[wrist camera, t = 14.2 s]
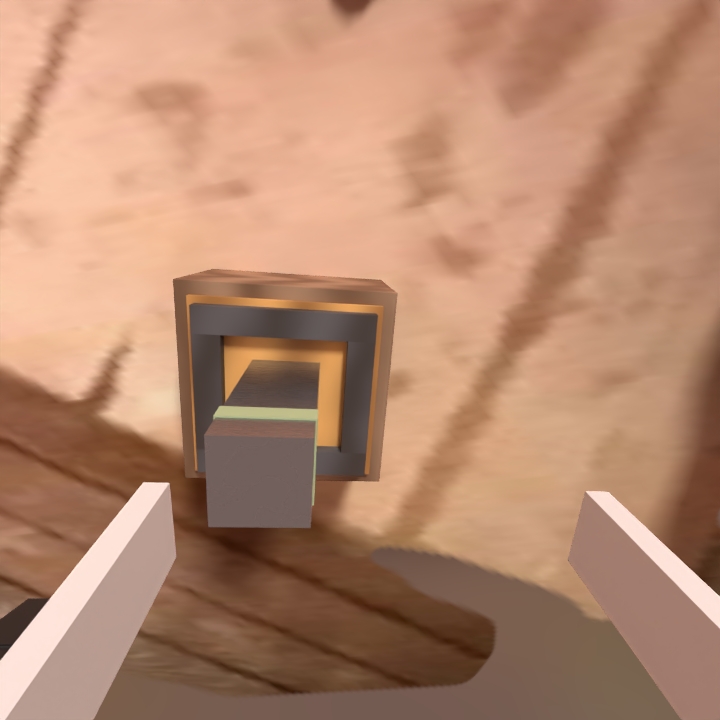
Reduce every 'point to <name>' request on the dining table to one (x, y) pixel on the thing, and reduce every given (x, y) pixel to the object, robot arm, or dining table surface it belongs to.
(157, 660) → the dining table surface
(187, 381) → the walnut stand
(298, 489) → the steel column
